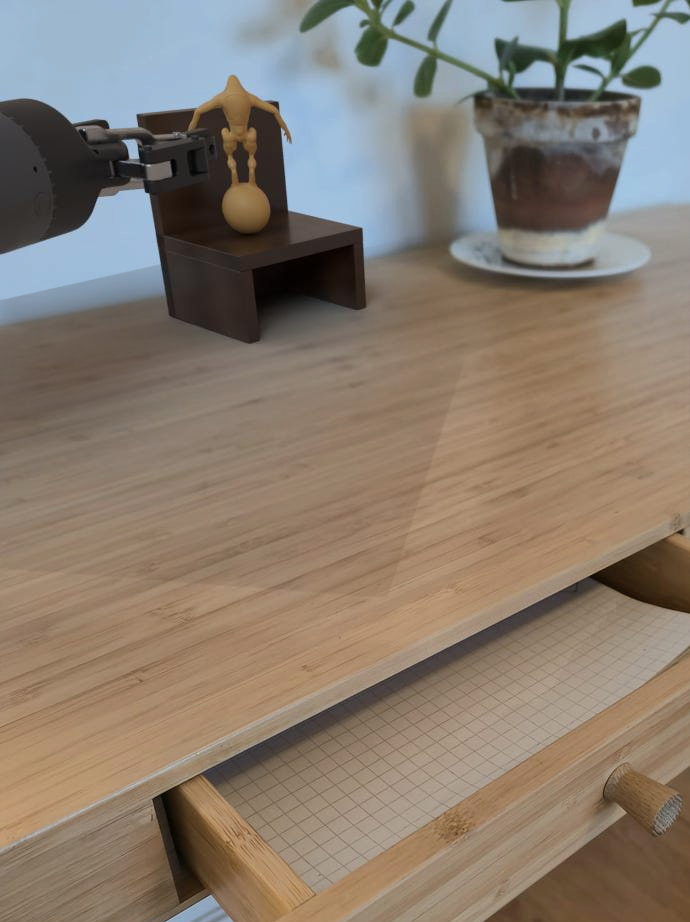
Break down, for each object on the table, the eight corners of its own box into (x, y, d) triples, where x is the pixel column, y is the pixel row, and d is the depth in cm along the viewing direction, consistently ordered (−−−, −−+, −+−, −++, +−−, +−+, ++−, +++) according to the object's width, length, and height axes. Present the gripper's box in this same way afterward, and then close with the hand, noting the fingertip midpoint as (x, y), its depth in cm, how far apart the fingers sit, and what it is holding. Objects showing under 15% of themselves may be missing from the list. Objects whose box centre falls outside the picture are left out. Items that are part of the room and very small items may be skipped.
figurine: (295, 226, 85) (282, 69, 78) (302, 242, 80) (289, 77, 73) (198, 229, 83) (176, 69, 76) (200, 246, 78) (177, 77, 71)
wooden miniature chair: (168, 315, 86) (135, 113, 76) (286, 284, 94) (270, 99, 85) (249, 343, 80) (223, 129, 71) (366, 307, 89) (357, 113, 80)
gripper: (83, 115, 51) (239, 86, 64) (-125, 97, 55) (61, 73, 67) (111, 260, 56) (252, 206, 68) (-83, 235, 59) (84, 188, 72)
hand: (157, 140), depth 68 cm, fingers open, 8 cm apart
